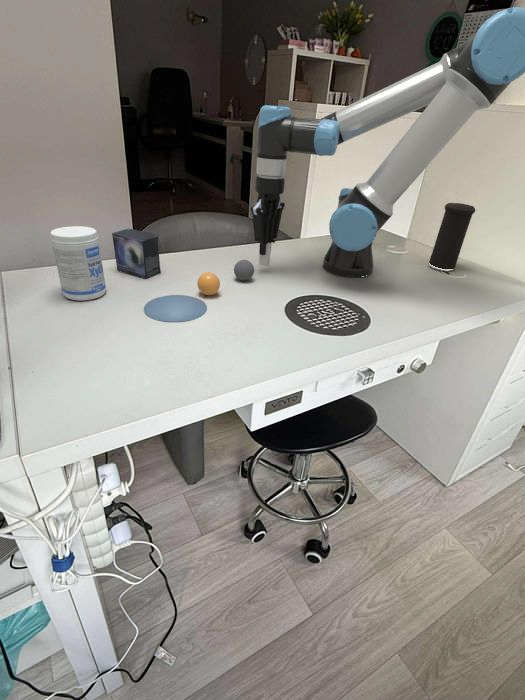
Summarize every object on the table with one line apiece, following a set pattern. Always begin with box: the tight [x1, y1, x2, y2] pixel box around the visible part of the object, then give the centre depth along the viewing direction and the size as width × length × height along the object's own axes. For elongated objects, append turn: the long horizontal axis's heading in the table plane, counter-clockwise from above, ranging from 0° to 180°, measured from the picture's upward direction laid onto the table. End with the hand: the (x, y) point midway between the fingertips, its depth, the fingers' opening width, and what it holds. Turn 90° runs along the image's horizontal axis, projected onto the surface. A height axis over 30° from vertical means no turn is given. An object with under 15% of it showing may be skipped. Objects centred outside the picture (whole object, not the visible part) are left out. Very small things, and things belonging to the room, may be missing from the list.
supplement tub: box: [50, 225, 107, 301], centre depth 88 cm, size 10×10×15 cm
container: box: [428, 202, 476, 270], centre depth 122 cm, size 9×9×20 cm
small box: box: [111, 228, 162, 280], centre depth 104 cm, size 11×6×10 cm, turn 62°
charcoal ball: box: [233, 259, 255, 282], centre depth 105 cm, size 6×6×6 cm
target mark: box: [143, 294, 208, 323], centre depth 89 cm, size 14×14×1 cm
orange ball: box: [196, 272, 221, 296], centre depth 95 cm, size 6×6×6 cm
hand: (264, 264), depth 112 cm, fingers closed
